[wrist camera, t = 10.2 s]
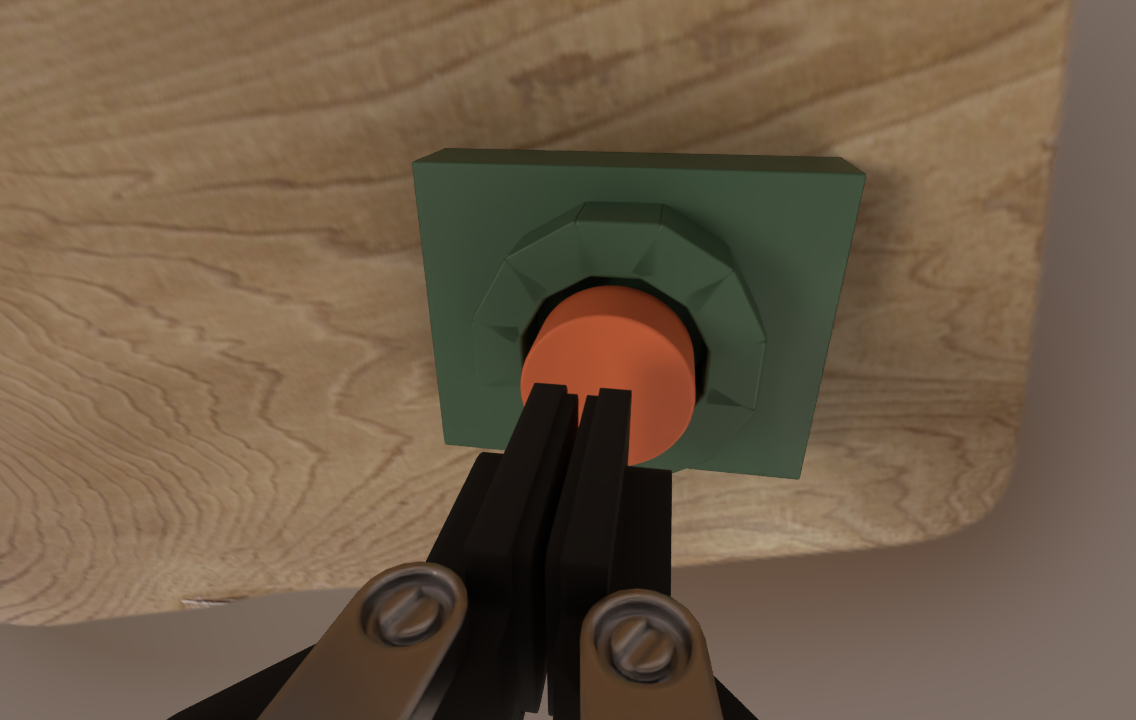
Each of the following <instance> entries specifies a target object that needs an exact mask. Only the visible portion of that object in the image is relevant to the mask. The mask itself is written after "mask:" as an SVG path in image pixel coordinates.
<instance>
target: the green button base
mask: <svg viewBox="0 0 1136 720" xmlns="http://www.w3.org/2000/svg"><path fill="white" fill-rule="evenodd" d="M412 168H413V176H414V185H415V193H416V202H417V210H418V219H419V227H420V236H421V244H422V253H423V262H424V270H425V279H426V287H427V296H428V304H429V313H430V321H431V330H432V338H433V347H434V356H435V364H436V373H437V381H438V390H439V398H440V407H441V415H442V424H443V432H444V441H445V444H447V445H457V446H467V447H477V448H487V449H497V450H506V448H507V445H508V443H509V441H510V438H511V436H512V434H513V431H514V429H515V427H516V424H517V422H518V420H519V417H520V415H521V413H522V410H523V408H524V405H523V401H522V397H521V388H520V386H521V374H522V368H523V366H524V363H525V360H526V358H527V356H528V354H529V352H530V350H531V348H532V346H533V344H534V342H535V340H536V338H537V336H538V334H539V332H540V330H541V328H542V326H543V324H544V322H545V320H546V319H547V317H548V316H549V314H550V313H551V312H552V311H553V310H554V309H555V308H556V307H557V305H559V304H560V303H561V302H562V301H564V300H565V299H566V298H568V297H570V296H572V295H573V294H575V293H578V292H580V291H582V290H585V289H589V288H593V287H598V286H615V285H616V286H625V287H630V288H634V289H638V290H641V291H643V292H646V293H649V294H650V295H652V296H654V297H656V298H658V299H659V300H661V301H662V302H664V303H665V304H666V305H668V306H669V307H670V308H671V309H672V310H673V311H674V312H675V313H676V314H677V316H678V317H679V318H680V319H681V321H682V322H683V324H684V326H685V327H686V329H687V331H688V333H689V336H690V338H691V342H692V345H693V352H694V367H695V391H696V395H695V406H694V412H693V415H692V417H691V420H690V423H689V424H688V426H687V428H686V430H685V431H684V433H683V434H682V436H681V437H680V438H679V439H678V440H677V441H676V442H675V443H674V444H673V445H672V446H671V447H670V448H669V449H667V450H666V451H665V452H664V453H662V454H660V455H658V456H657V457H655V458H653V459H650V460H648V461H646V462H642V463H639V464H636V465H630V466H634V467H645V468H655V469H665V470H672V473H675V472H678V471H681V470H683V469H686V468H688V469H698V470H708V471H718V472H728V473H738V474H748V475H758V476H768V477H778V478H788V479H799V478H800V474H801V470H802V465H803V461H804V456H805V451H806V447H807V442H808V438H809V433H810V429H811V424H812V420H813V415H814V411H815V406H816V402H817V397H818V393H819V388H820V383H821V379H822V374H823V370H824V365H825V361H826V356H827V352H828V347H829V343H830V338H831V334H832V329H833V325H834V320H835V316H836V311H837V306H838V302H839V297H840V293H841V288H842V284H843V279H844V275H845V270H846V266H847V261H848V257H849V252H850V248H851V243H852V238H853V234H854V229H855V225H856V220H857V216H858V211H859V207H860V202H861V198H862V193H863V189H864V184H865V180H866V174H865V173H864V172H862V171H861V170H859V169H858V168H856V167H855V166H853V165H852V164H850V163H849V162H847V161H846V160H844V159H843V158H841V157H803V156H760V155H717V154H674V153H631V152H587V151H544V150H501V149H458V148H444V149H442V150H440V151H437V152H435V153H432V154H430V155H428V156H425V157H423V158H420V159H418V160H416V161H413V162H412Z"/></svg>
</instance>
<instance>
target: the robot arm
mask: <svg viewBox="0 0 1136 720" xmlns="http://www.w3.org/2000/svg"><path fill="white" fill-rule="evenodd" d="M631 402H632V390H624V389H612V388H600V390H599V394H598V396H595V395H587V397H586V401H585V404H584V408H583V412H582V416H581V420H580V424H579V398H578V394H570V393H568V389H567V385H561V384H548V383H534V385H533V387H532V389H531V392H530V394H529V396H528V399H527V401H526V403H525V406H524V408H523V410H522V413H521V415H520V417H519V420H518V422H517V424H516V427H515V429H514V431H513V434H512V436H511V438H510V441H509V443H508V445H507V448H506V450H505V452H504V454H499V453H489V452H482V453H480V454H479V456H478V457H477V459H476V461H475V463H474V465H473V467H472V469H471V471H470V473H469V475H468V477H467V479H466V481H465V483H464V485H463V487H462V489H461V491H460V493H459V495H458V497H457V499H456V501H455V503H454V505H453V507H452V509H451V511H450V514H449V516H448V518H447V520H446V522H445V524H444V526H443V528H442V530H441V532H440V534H439V536H438V538H437V540H436V542H435V544H434V546H433V548H432V550H431V552H430V554H429V556H428V558H427V560H426V562H413V563H404V564H401V565H398V566H395V567H392V568H389V569H386V570H385V571H383V572H381V573H380V574H378V575H376V576H375V577H373V578H372V579H370V580H369V581H368V582H367V583H366V584H365V585H364V586H363V587H362V588H361V589H360V590H359V591H358V592H357V593H356V594H355V596H354V597H353V598H352V599H351V601H350V602H349V603H348V605H347V606H346V607H345V608H344V610H343V611H342V612H341V613H340V615H339V616H338V617H337V618H336V620H335V621H334V622H333V624H332V625H331V626H330V627H329V629H328V630H327V631H326V632H325V634H324V635H323V636H322V638H321V639H320V640H319V641H318V643H316V644H314V645H312V646H310V647H308V648H307V649H304V650H303V651H301V652H299V653H296V654H294V655H292V656H290V657H288V658H286V659H285V660H283V661H281V662H279V663H276V664H274V665H272V666H270V667H268V668H266V669H264V670H263V671H260V672H259V673H256V674H254V675H253V676H250V677H248V678H246V679H244V680H242V681H240V682H238V683H237V684H234V685H233V686H230V687H228V688H227V689H224V690H222V691H220V692H219V693H217V694H214V695H213V696H211V697H208V698H207V699H204V700H203V701H200V702H199V703H196V704H195V705H193V706H190V707H188V708H186V709H185V710H182V711H180V712H178V713H177V714H175V715H173V716H172V717H170V718H169V719H167V720H523V719H524V715H525V712H531V713H538V711H539V707H540V703H541V698H542V694H543V689H544V684H545V679H546V675H547V683H548V714H549V715H550V716H553V720H758V719H757V718H756V717H755V716H754V715H753V714H752V713H751V712H750V711H749V710H748V709H747V708H746V707H745V706H744V705H743V704H742V703H741V702H740V701H739V700H738V699H737V698H736V697H735V696H734V695H733V694H732V693H731V692H730V691H729V690H728V689H727V688H725V686H724V685H723V684H722V683H721V682H720V681H719V680H717V678H716V677H715V676H714V675H713V671H712V666H711V662H710V658H709V653H708V648H707V645H706V640H705V637H704V634H703V632H702V629H701V627H700V625H699V622H698V621H697V620H696V618H695V617H694V616H693V615H692V614H691V612H690V611H689V610H688V609H687V608H686V607H685V606H683V605H682V604H681V603H679V602H678V601H676V600H675V599H673V598H672V597H671V517H672V470H665V469H655V468H645V467H634V466H628V456H629V438H630V420H631ZM578 425H579V427H578Z"/></svg>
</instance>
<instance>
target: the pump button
mask: <svg viewBox="0 0 1136 720" xmlns="http://www.w3.org/2000/svg"><path fill="white" fill-rule="evenodd" d="M534 383H548V384H561V385H567V389H568V393H570V394H578V398H579V424H580V420H581V416H582V412H583V408H584V404H585V401H586V397H587V395H595V396H598V394H599V390H600V388H612V389H624V390H632V402H631V420H630V438H629V456H628V466H630V465H636V464H639V463H642V462H646V461H648V460H650V459H653V458H655V457H657V456H658V455H660V454H662V453H664V452H665V451H666V450H667V449H669V448H670V447H671V446H672V445H673V444H674V443H675V442H676V441H677V440H678V439H679V438H680V437H681V436H682V434H683V433H684V431H685V430H686V428H687V426H688V424H689V423H690V420H691V417H692V415H693V412H694V406H695V395H696V391H695V367H694V352H693V345H692V342H691V338H690V336H689V333H688V331H687V329H686V327H685V326H684V324H683V322H682V321H681V319H680V318H679V317H678V316H677V314H676V313H675V312H674V311H673V310H672V309H671V308H670V307H669V306H668V305H666V304H665V303H664V302H662V301H661V300H659V299H658V298H656V297H654V296H652V295H650V294H649V293H646V292H643V291H641V290H638V289H634V288H630V287H625V286H616V285H615V286H598V287H593V288H589V289H585V290H582V291H580V292H578V293H575V294H573V295H572V296H570V297H568V298H566V299H565V300H564V301H562V302H561V303H560V304H559V305H557V307H556V308H555V309H554V310H553V311H552V312H551V313H550V314H549V316H548V317H547V319H546V320H545V322H544V324H543V326H542V328H541V330H540V332H539V334H538V336H537V338H536V340H535V342H534V344H533V346H532V348H531V350H530V352H529V354H528V356H527V358H526V360H525V363H524V366H523V368H522V374H521V386H520V388H521V397H522V401H523V405H524V406H525V403H526V401H527V399H528V396H529V394H530V392H531V389H532V387H533V385H534ZM578 427H579V425H578Z"/></svg>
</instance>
